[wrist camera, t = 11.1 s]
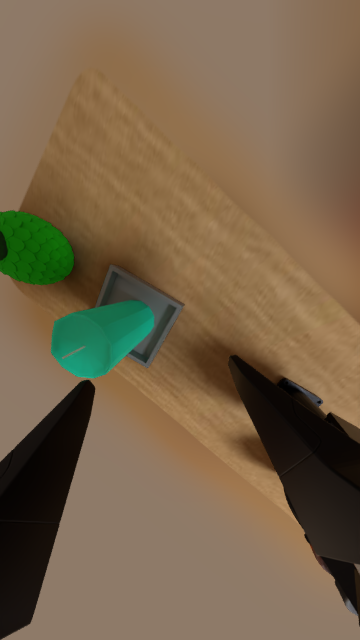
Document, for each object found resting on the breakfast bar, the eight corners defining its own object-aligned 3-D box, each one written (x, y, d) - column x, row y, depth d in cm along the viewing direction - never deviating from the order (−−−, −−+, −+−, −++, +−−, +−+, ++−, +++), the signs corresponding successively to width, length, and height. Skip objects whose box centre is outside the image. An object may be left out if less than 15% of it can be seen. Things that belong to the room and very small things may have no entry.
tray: (184, 304, 21) (183, 306, 19) (152, 361, 24) (147, 368, 22) (118, 266, 21) (110, 264, 19) (94, 328, 24) (85, 331, 22)
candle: (159, 307, 21) (108, 336, 9) (148, 343, 23) (93, 404, 11) (122, 293, 21) (28, 305, 10) (114, 329, 23) (25, 375, 11)
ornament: (97, 250, 21) (8, 222, 11) (75, 295, 23) (-15, 302, 14) (52, 215, 21) (-80, 154, 11) (34, 263, 23) (-87, 248, 13)
